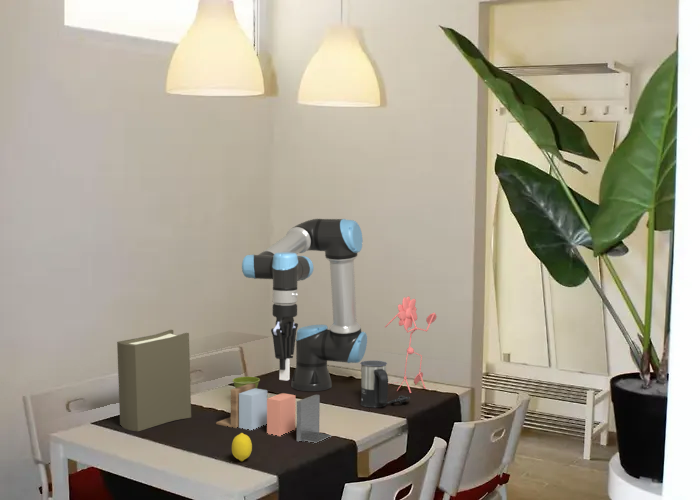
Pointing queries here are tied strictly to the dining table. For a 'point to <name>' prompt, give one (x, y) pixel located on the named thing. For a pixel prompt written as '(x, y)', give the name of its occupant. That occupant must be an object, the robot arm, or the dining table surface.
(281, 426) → the red block
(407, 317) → the pink daisy dancer statuette
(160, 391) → the book
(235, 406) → the shelf end
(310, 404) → the bookend
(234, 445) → the lemon
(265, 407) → the blue block
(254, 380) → the plant pot
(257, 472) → the dining table surface
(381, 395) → the milk frother
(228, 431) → the dining table surface
